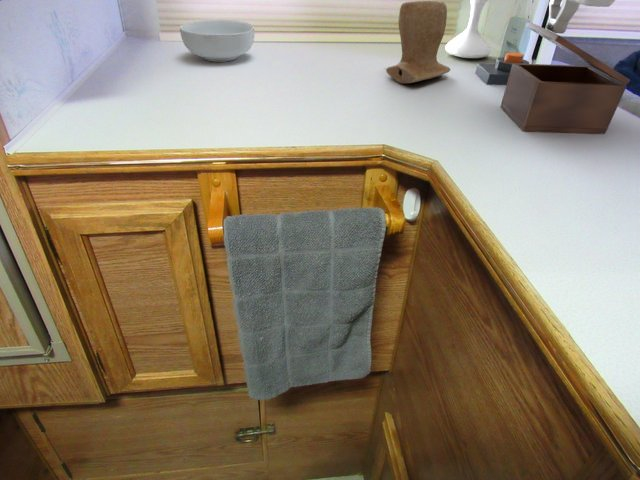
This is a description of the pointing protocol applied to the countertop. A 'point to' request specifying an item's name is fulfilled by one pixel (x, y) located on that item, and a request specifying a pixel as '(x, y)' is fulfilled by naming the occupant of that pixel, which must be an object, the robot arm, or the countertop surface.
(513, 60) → the button
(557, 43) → the lid
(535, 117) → the chest
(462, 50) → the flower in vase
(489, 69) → the button block
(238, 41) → the cereal bowl
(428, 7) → the brown flared post
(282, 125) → the countertop surface
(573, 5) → the robot arm
